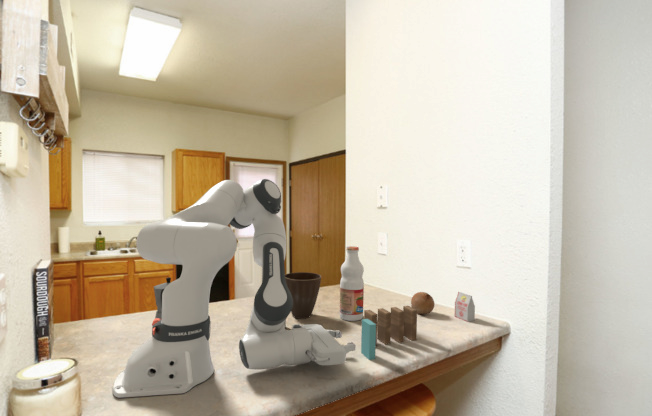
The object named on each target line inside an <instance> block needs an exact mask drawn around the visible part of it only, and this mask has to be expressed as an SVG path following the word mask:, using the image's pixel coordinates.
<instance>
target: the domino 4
mask: <svg viewBox="0 0 652 416" xmlns="http://www.w3.org/2000/svg"><path fill="white" fill-rule="evenodd" d="M402 307H403V309H402V310H403V311H404V337H405V338H406V339H408V340H409V341H411V342H413V341H417V340H418V339H417V337H418V336H417V334H418V331H417V330H418V329H417V328H418V327H417V326H418V323H417V322H418V313H417V310H416V309H414V308H412V307H411V306H409V305H404V306H402Z"/></svg>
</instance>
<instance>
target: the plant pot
mask: <svg viewBox="0 0 652 416" xmlns="http://www.w3.org/2000/svg"><path fill="white" fill-rule="evenodd" d="M285 280H286V284H287V286H288V289H289V291H290V293H291V295H292V298H293V307H292V310H291V312H290V313H291V316H292V317H294V318H296V319H307V318H310V317H311V316H312V313H313V312H314V309H315V306H316V303H317V299H318V296H319V292H320V288H321V281H322V275H321V274H319V273H316V272H315V273H314V272H306V271H305V272H304V271H301V272H300V271H299V272H297V271H296V272H289V273H285Z"/></svg>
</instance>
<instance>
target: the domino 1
mask: <svg viewBox="0 0 652 416" xmlns="http://www.w3.org/2000/svg"><path fill="white" fill-rule="evenodd" d="M363 319H369V320H370V321H372V322H373V323H375V324H376V345H375V347H377V344H378V339H377V323H378V313H376V312H374V311H373V310H371V309H363Z"/></svg>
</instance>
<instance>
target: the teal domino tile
mask: <svg viewBox="0 0 652 416" xmlns="http://www.w3.org/2000/svg"><path fill="white" fill-rule="evenodd" d="M360 336H361V338H360V339H361V343H360V344H361V346H360V347H361V348H360V353H361V354H362V355H363V356H364V357H365V358H366V359H368V360H369V361H371V360H376V346H375V345H376V324H375V323H373V322H372V321H370V320H369V319H364V318H362V319H361V335H360Z"/></svg>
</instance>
